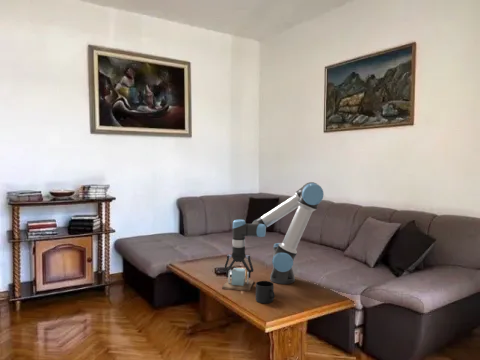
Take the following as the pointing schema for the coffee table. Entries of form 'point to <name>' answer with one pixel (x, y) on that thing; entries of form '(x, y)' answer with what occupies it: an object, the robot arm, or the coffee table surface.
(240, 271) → the light blue block
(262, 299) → the mug
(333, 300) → the coffee table surface
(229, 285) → the post base
